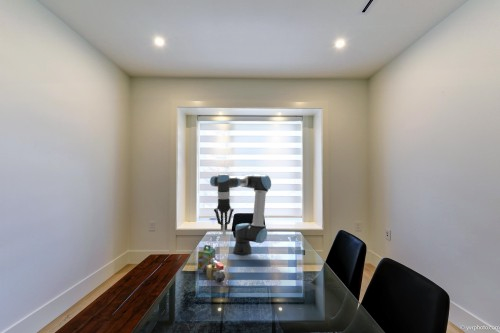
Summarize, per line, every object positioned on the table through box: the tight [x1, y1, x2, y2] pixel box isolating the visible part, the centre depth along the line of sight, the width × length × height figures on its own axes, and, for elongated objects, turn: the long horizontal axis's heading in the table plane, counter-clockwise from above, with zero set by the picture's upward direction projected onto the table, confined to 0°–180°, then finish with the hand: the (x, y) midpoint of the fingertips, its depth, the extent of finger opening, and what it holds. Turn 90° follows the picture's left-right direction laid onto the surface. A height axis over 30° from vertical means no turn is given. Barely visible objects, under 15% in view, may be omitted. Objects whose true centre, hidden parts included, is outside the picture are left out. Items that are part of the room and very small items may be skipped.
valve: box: [201, 262, 226, 284], centre depth 141 cm, size 18×6×9 cm, turn 39°
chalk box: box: [197, 244, 216, 270], centre depth 156 cm, size 9×9×15 cm
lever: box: [210, 257, 225, 271], centre depth 137 cm, size 14×4×2 cm, turn 34°
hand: (224, 234), depth 143 cm, fingers closed
